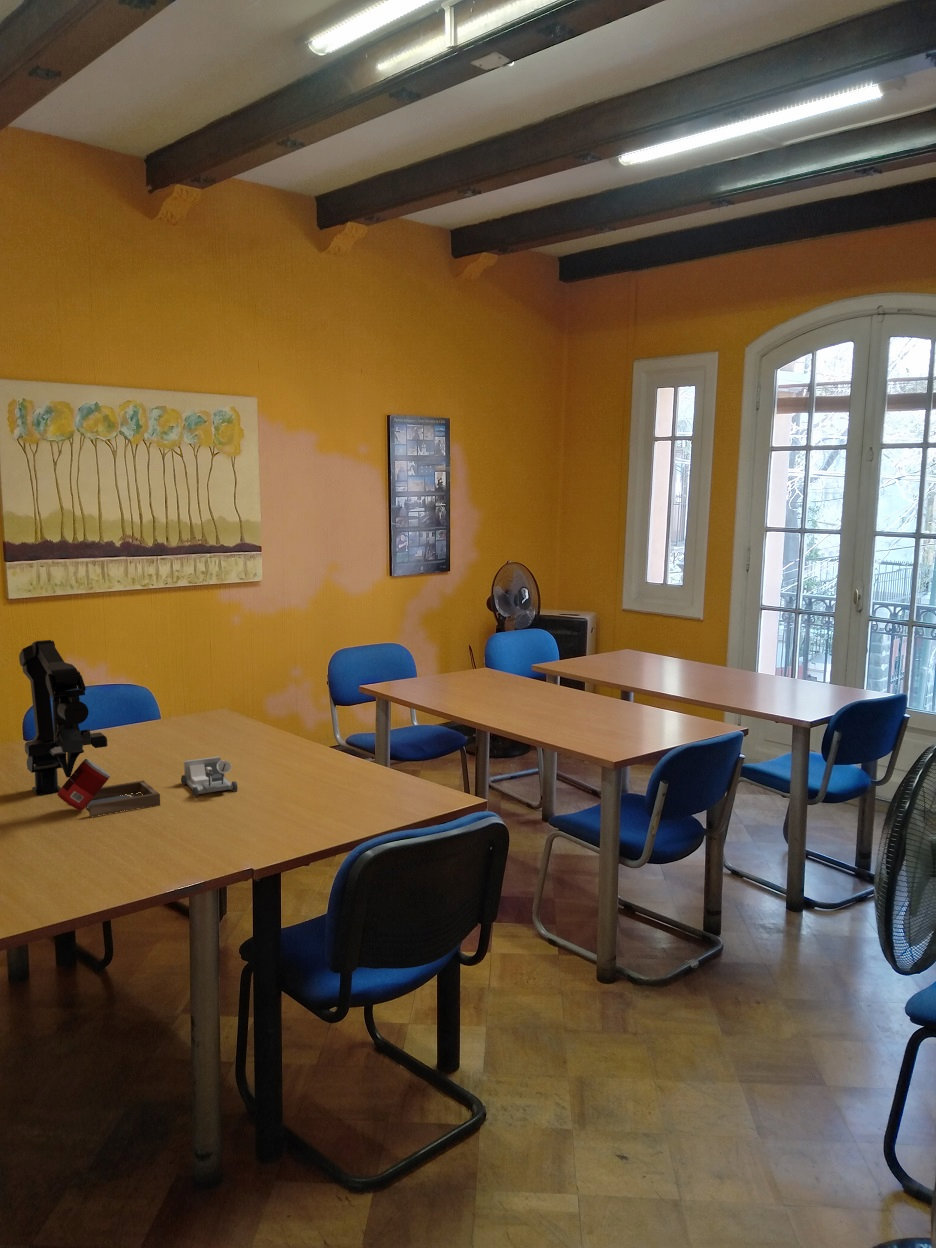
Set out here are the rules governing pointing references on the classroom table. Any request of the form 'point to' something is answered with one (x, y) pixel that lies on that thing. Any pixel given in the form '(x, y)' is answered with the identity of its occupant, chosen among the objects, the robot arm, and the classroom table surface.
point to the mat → (112, 798)
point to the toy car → (207, 775)
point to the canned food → (83, 785)
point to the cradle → (145, 800)
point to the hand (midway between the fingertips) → (68, 777)
